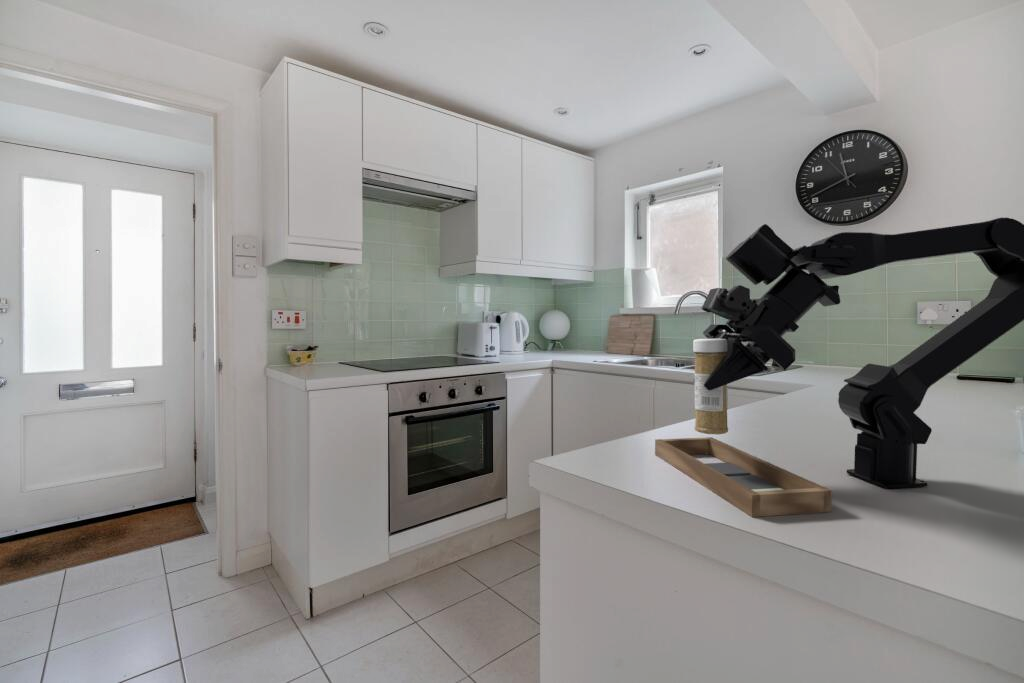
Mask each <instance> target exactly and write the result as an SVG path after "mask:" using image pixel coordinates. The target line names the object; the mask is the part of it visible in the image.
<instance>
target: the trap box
mask: <svg viewBox="0 0 1024 683" xmlns="http://www.w3.org/2000/svg"><path fill="white" fill-rule="evenodd" d="M654 455H655V456H656V457H658V458H659V459H661V460H663V461H664V462H666V463H668V464H669V465H670V466H672V467H674V468H676V469H677V470H678V471H680V472H682V473H683V474H684V475H685V476H687V477H689V478H691V479H693V480H694V481H695V482H697V483H698V484H700V485H701V486H703V487H704V488H706V489H708V490H709V491H711V492H712V493H714V494H715V495H717V496H718V497H720V498H722V499H723V500H725V501H726V502H728V503H730V504H731V505H733V506H734V507H736V508H737V509H739V510H740V511H742V512H743V513H745V514H747V515H748V516H750V517H751V518H755V517H771V516H773V517H774V516H785V515H787V516H788V515H800V514H816V513H829V512H830V513H831V512H832V501H833V500H832V499H833V498H832V497H833V495H832V494H833V490H832V489H830V488H827V487H825V486H823V485H820V484H818V483H815V482H814V481H812V480H809V479H807V478H804V477H803V476H800V475H797V474H795V473H793V472H791V471H788V470H787V469H785V468H783V467H779V466H777V465H775V464H773V463H771V462H768V461H766V460H763V459H761V458H760V457H757V456H756V455H753V454H750V453H748V452H746V451H744V450H741V449H739V448H736V447H734V446H732V445H729V444H728V443H725V442H723V441H720V440H718V439H716V438H714V437H707V436H706V437H686V438H685V437H684V438H663V439H660V438H659V439H654ZM692 455H694V456H695V455H710V456H713V457H714V458H716V459H718V460H720V461H722V462H723V463H727V462H730V463H732V464H734V465H736V466H738V467H740V468H742V469H744V470H746V471H748V472H750V475H756V476H758V477H760V478H762V479H764V480H766V481H767V482H769V483H771V484H773V485H775V486H777V487H779V488H781V489H783V490H772V491H753V490H751V489H749V488H747V487H746V486H744V485H742V484H740V483H738V482H737V481H735V480H733V479H731V478H729V477H728V476H726V475H724V474H722V473H721V472H719V471H717V470H715V469H713V468H712V467H710V466H708V465H706V463H704V462H702V461H701V460H699V459H697V458H695V457H694V456H692Z"/></svg>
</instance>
